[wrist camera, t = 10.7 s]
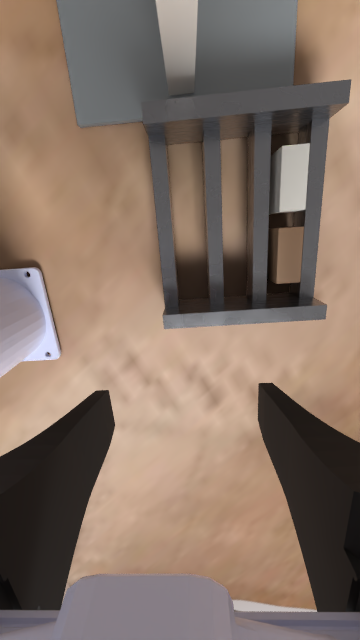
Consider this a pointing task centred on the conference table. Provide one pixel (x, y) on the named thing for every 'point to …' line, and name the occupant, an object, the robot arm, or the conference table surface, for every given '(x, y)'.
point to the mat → (147, 55)
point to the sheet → (178, 43)
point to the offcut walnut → (285, 254)
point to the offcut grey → (289, 178)
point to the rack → (258, 125)
